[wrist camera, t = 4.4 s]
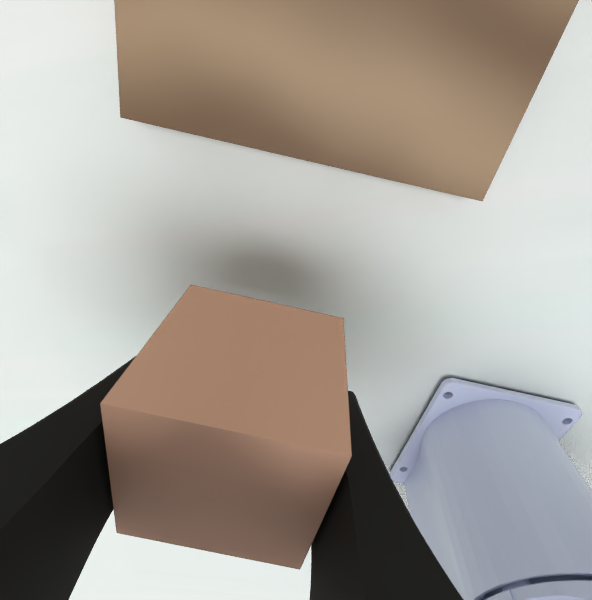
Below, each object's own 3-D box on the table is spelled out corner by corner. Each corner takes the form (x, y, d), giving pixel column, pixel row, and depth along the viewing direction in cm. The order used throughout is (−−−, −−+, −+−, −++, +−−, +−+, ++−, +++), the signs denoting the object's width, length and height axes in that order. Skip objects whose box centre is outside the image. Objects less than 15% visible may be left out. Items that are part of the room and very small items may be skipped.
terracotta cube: (309, 421, 12) (299, 569, 8) (185, 394, 12) (116, 532, 8) (343, 318, 10) (351, 456, 6) (191, 285, 10) (100, 403, 6)
